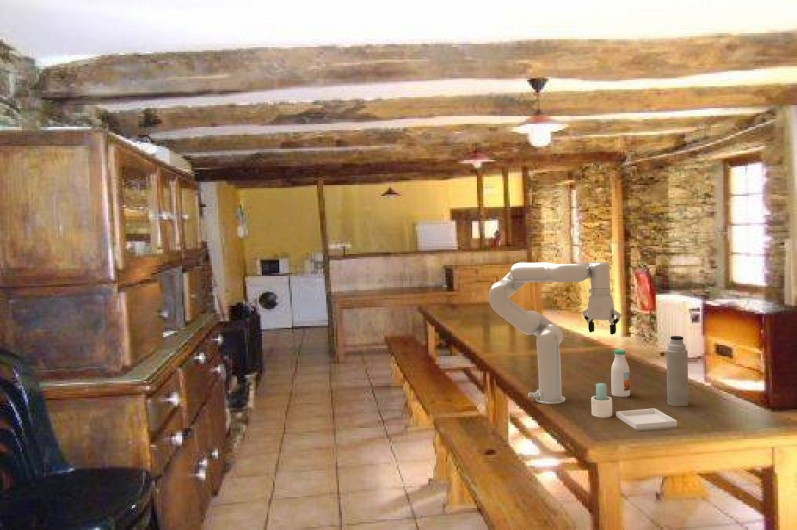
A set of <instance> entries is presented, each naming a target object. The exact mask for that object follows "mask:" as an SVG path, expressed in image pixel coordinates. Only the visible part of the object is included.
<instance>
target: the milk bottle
mask: <svg viewBox="0 0 797 530" xmlns="http://www.w3.org/2000/svg"><path fill="white" fill-rule="evenodd" d="M613 351H614V360H613V362H612V364H611V368H610V369H611V371H610V379H611V380H610V381H611V385H610V386H611V387H610V388H611V396H613V397H616V398H626V397H627V398H628V397H630V396H631V374H630V373H631V371H630V366H629V364H628V362H627V359H626V353H627V352H626V350H625V349H621V348H618V349H614V350H613Z"/></svg>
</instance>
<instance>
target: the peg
mask: <svg viewBox="0 0 797 530" xmlns="http://www.w3.org/2000/svg"><path fill="white" fill-rule="evenodd" d="M607 387H608V385H607V383H605V382H604V383H603V382H599V383H595V396H596V400H601V401H604V400H607V396H608V395H607V394H608V390H607V389H608V388H607Z"/></svg>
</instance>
